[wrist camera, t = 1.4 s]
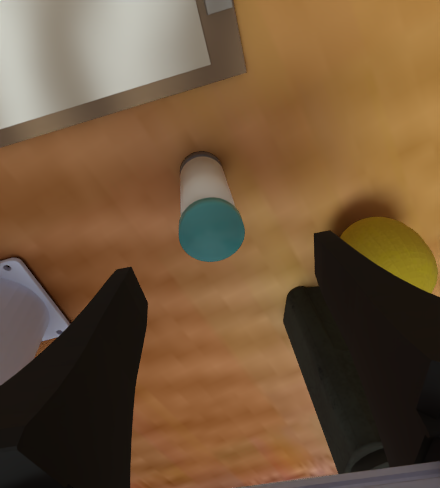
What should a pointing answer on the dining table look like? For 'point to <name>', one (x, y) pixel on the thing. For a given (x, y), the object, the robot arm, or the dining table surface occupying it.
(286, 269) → the dining table surface
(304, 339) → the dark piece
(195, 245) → the marker
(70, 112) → the clipboard
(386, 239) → the lemon
